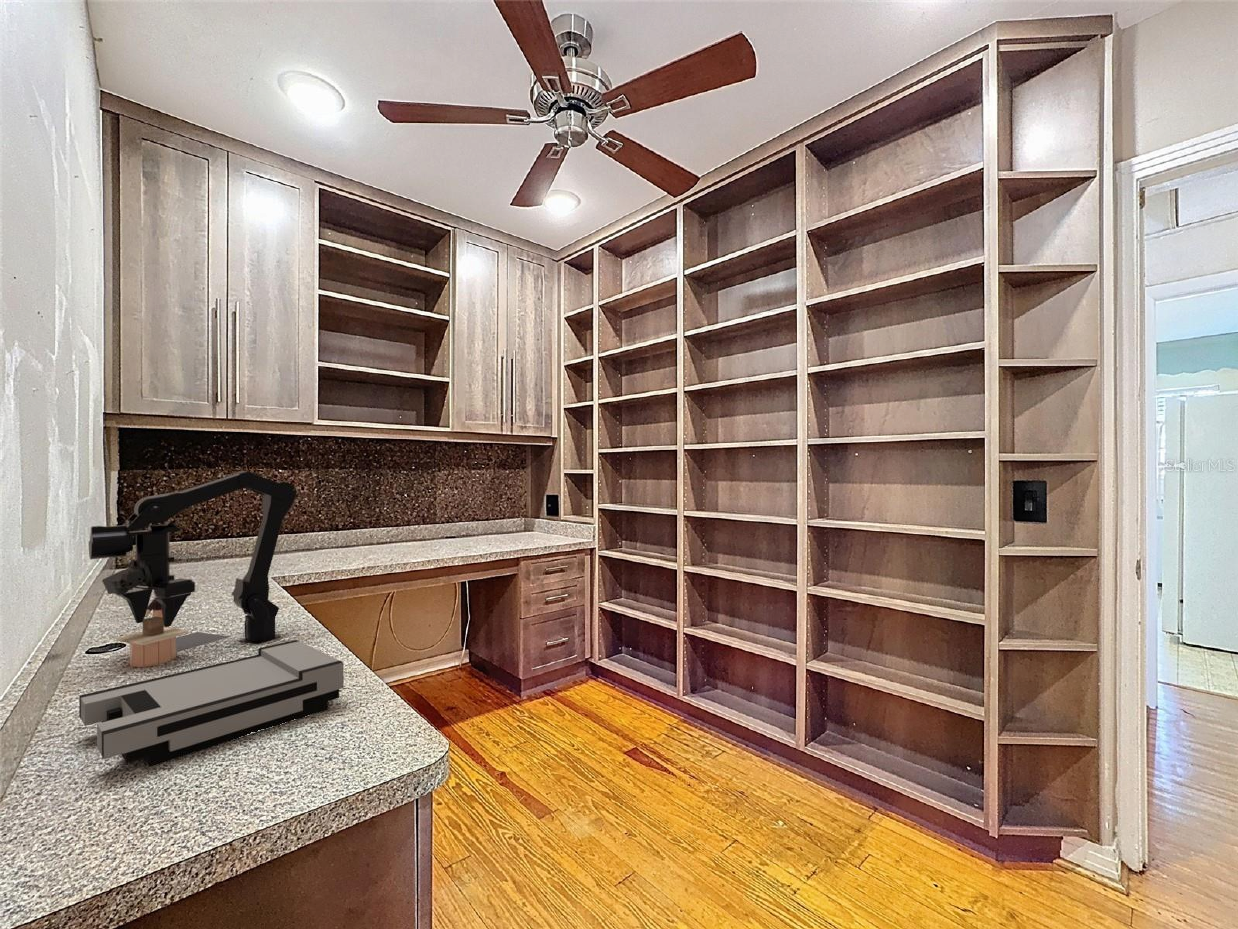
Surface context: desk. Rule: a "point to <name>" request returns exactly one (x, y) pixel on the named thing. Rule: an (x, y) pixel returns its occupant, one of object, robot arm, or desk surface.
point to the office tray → (211, 703)
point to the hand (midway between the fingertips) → (153, 624)
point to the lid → (152, 632)
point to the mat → (196, 640)
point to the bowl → (152, 653)
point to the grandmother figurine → (154, 608)
